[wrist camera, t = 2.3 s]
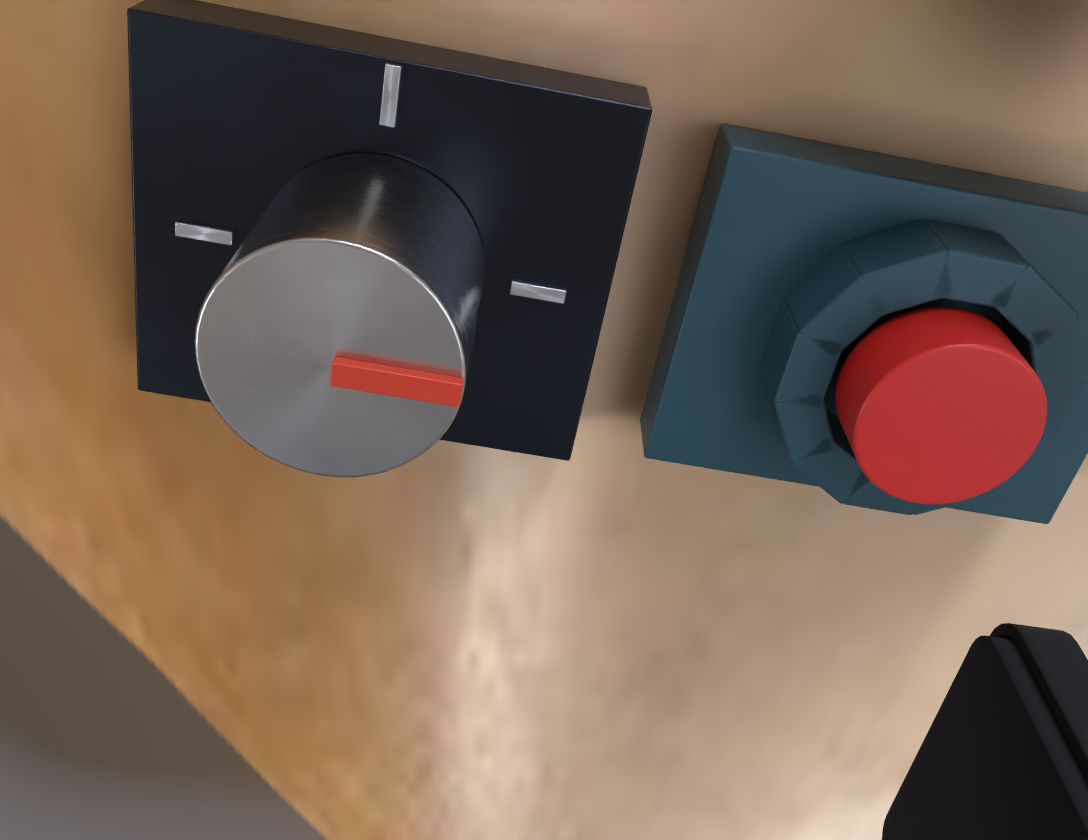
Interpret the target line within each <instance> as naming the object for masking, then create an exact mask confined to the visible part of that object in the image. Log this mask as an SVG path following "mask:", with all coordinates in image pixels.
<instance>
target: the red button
mask: <svg viewBox="0 0 1088 840" xmlns="http://www.w3.org/2000/svg"><path fill="white" fill-rule="evenodd" d="M835 403H836V409H837V414H838V417H839V420H840V422H841V425H842V427H843V429H844V432H845V434H846V436H847V439H848V441H849V443H850V446H851V448H852V451H853V453H854V455H855V458H856V460H857V462H858V464H859V466H860V468H861V470H862V471H863V473H864V474H865V475H866V477H867V478H868V479H869V480H870V481H871V482H872V483H873V484H874V485H875V486H877V487H878V488H880V489H881V490H883V491H884V492H886V493H888V494H890V495H892V496H894V497H896V498H899V499H902V500H905V501H909V502H914V503H921V504H945V503H953V502H958V501H962V500H966V499H969V498H972V497H975V496H978V495H980V494H982V493H985V492H987V491H989V490H991V489H993V488H994V487H996V486H998V485H999V484H1001V483H1002V482H1004V481H1005V480H1007V479H1008V478H1009V477H1011V476H1012V475H1013V474H1014V473H1015V472H1017V471H1018V470H1019V469H1020V468H1021V467H1022V466H1023V465H1024V463H1025V462H1026V461H1027V460H1028V459H1029V457H1030V456H1031V455H1032V453H1033V452H1034V450H1035V448H1036V447H1037V445H1038V443H1039V441H1040V439H1041V436H1042V434H1043V431H1044V427H1045V424H1046V416H1047V400H1046V395H1045V390H1044V388H1043V385H1042V383H1041V381H1040V379H1039V377H1038V376H1037V374H1036V373H1035V371H1034V370H1033V369H1032V367H1031V366H1030V365H1029V364H1028V362H1027V361H1026V360H1025V359H1024V357H1023V356H1022V355H1021V353H1020V352H1019V351H1018V350H1017V348H1016V347H1015V346H1014V345H1013V343H1012V342H1011V341H1010V340H1009V338H1008V337H1007V336H1006V335H1005V333H1004V332H1003V331H1002V330H1001V329H1000V328H999V327H998V326H997V325H996V324H994V323H993V322H992V321H991V320H989V319H987V318H986V317H984V316H982V315H980V314H978V313H975V312H973V311H970V310H966V309H962V308H955V307H927V308H920V309H916V310H912V311H909V312H906V313H903V314H900V315H898V316H895V317H893V318H891V319H889V320H887V321H885V322H884V323H882V324H881V325H879V326H877V327H876V328H875V329H873V330H872V331H871V332H869V333H868V334H867V335H866V336H865V337H864V338H863V339H862V340H861V341H860V342H859V343H858V344H857V345H856V346H855V348H854V349H853V350H852V351H851V353H850V354H849V356H848V357H847V359H846V361H845V362H844V365H843V367H842V369H841V371H840V374H839V377H838V381H837V385H836V392H835Z"/></svg>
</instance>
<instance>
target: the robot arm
mask: <svg viewBox="0 0 1088 840" xmlns="http://www.w3.org/2000/svg"><path fill="white" fill-rule="evenodd" d="M882 840H1088V660H1087V658H1086V656H1085V655H1084V653H1083V651H1082V650H1081V648H1080V646H1079V645H1078V643H1077V642H1076V641H1075V639H1074V638H1073V637H1072V636H1071V635H1070V634H1068V633H1066V632H1064V631H1060V630H1053V629H1046V628H1039V627H1032V626H1025V625H1017V624H1010V623H1006V624H1001V625H999V626H998V627H996V628H995V629H994V630H993V632H992V633H991V635H990V636H980V637H978V638H977V639H975V641H974V642H973V644H972V645H971V647H970V649H969V651H968V653H967V655H966V657H965V659H964V661H963V663H962V665H961V667H960V669H959V671H958V673H957V675H956V677H955V679H954V681H953V683H952V685H951V687H950V689H949V691H948V693H947V695H946V697H945V699H944V701H943V703H942V705H941V707H940V709H939V711H938V713H937V715H936V717H935V719H934V721H933V723H932V725H931V727H930V729H929V731H928V733H927V735H926V737H925V739H924V741H923V743H922V745H921V747H920V749H919V751H918V753H917V755H916V757H915V759H914V761H913V763H912V765H911V767H910V769H909V771H908V773H907V775H906V777H905V779H904V781H903V783H902V785H901V787H900V789H899V791H898V793H897V795H896V797H895V799H894V802H893V804H892V806H891V808H890V810H889V812H888V814H887V816H886V819H885V821H884V826H883V834H882Z"/></svg>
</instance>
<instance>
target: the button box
mask: <svg viewBox="0 0 1088 840" xmlns="http://www.w3.org/2000/svg"><path fill="white" fill-rule="evenodd" d="M927 307H955V308H962V309H966V310H970V311H973V312H975V313H978V314H980V315H982V316H984V317H986V318H987V319H989V320H991V321H992V322H993V323H994V324H996V325H997V326H998V327H999V328H1000V329H1001V330H1002V331H1003V332H1004V333H1005V335H1006V336H1007V337H1008V338H1009V340H1010V341H1011V342H1012V343H1013V345H1014V346H1015V347H1016V348H1017V350H1018V351H1019V352H1020V353H1021V355H1022V356H1023V357H1024V359H1025V360H1026V361H1027V362H1028V364H1029V365H1030V366H1031V367H1032V369H1033V370H1034V371H1035V373H1036V374H1037V376H1038V377H1039V379H1040V381H1041V383H1042V385H1043V388H1044V390H1045V395H1046V400H1047V416H1046V424H1045V427H1044V431H1043V434H1042V436H1041V439H1040V441H1039V443H1038V445H1037V447H1036V448H1035V450H1034V452H1033V453H1032V455H1031V456H1030V457H1029V459H1028V460H1027V461H1026V462H1025V463H1024V465H1023V466H1022V467H1021V468H1020V469H1019V470H1018V471H1017V472H1015V473H1014V474H1013V475H1012V476H1011V477H1009V478H1008V479H1007V480H1005V481H1004V482H1002V483H1001V484H999V485H998V486H996V487H994V488H993V489H991V490H989V491H987V492H985V493H982V494H980V495H978V496H975V497H972V498H969V499H966V500H962V501H958V502H953V503H945V504H921V503H914V502H909V501H905V500H902V499H899V498H896V497H894V496H892V495H890V494H888V493H886V492H884V491H883V490H881V489H880V488H878V487H877V486H875V485H874V484H873V483H872V482H871V481H870V480H869V479H868V478H867V477H866V475H865V474H864V473H863V471H862V470H861V468H860V466H859V464H858V462H857V460H856V458H855V455H854V453H853V451H852V448H851V446H850V443H849V441H848V439H847V436H846V434H845V432H844V429H843V427H842V425H841V422H840V420H839V417H838V414H837V409H836V403H835V392H836V385H837V381H838V377H839V374H840V371H841V369H842V367H843V365H844V362H845V361H846V359H847V357H848V356H849V354H850V353H851V351H852V350H853V349H854V348H855V346H856V345H857V344H858V343H859V342H860V341H861V340H862V339H863V338H864V337H865V336H866V335H867V334H868V333H869V332H871V331H872V330H873V329H875V328H876V327H877V326H879V325H881V324H882V323H884V322H885V321H887V320H889V319H891V318H893V317H895V316H898V315H900V314H903V313H906V312H909V311H912V310H916V309H920V308H927ZM640 423H641V432H642V441H643V450H644V457H646V458H650V459H656V460H662V461H668V462H674V463H680V464H686V465H692V466H698V467H704V468H710V469H716V470H723V471H729V472H735V473H741V474H747V475H753V476H759V477H765V478H771V479H777V480H783V481H789V482H795V483H801V484H807V485H813V486H819V487H821V488H822V489H823V490H825V491H826V492H827V493H828V494H830V495H831V496H832V497H833V498H835V499H836V500H837V501H838V502H840V503H841V504H842V503H844V504H846V505H852V506H858V507H864V508H870V509H876V510H882V511H888V512H895V513H901V514H907V515H912V514H914V515H917V514H921V513H925V512H929V511H933V510H937V509H940V508H944V507H947V508H953V509H959V510H965V511H971V512H977V513H983V514H989V515H995V516H1001V517H1007V518H1013V519H1019V520H1025V521H1031V522H1037V523H1043V524H1048V523H1049V522H1050V520H1051V519H1052V517H1053V515H1054V513H1055V511H1056V510H1057V508H1058V506H1059V504H1060V502H1061V500H1062V499H1063V497H1064V495H1065V493H1066V491H1067V490H1068V488H1069V486H1070V484H1071V482H1072V480H1073V479H1074V477H1075V475H1076V473H1077V471H1078V470H1079V468H1080V466H1081V464H1082V462H1083V460H1084V459H1085V457H1086V455H1087V453H1088V193H1084V192H1079V191H1073V190H1068V189H1063V188H1058V187H1053V186H1047V185H1042V184H1037V183H1032V182H1026V181H1021V180H1016V179H1011V178H1005V177H1000V176H995V175H990V174H985V173H979V172H974V171H969V170H964V169H958V168H953V167H948V166H943V165H938V164H932V163H927V162H922V161H917V160H911V159H906V158H901V157H896V156H890V155H885V154H880V153H875V152H870V151H864V150H859V149H854V148H849V147H843V146H838V145H833V144H828V143H822V142H817V141H812V140H807V139H802V138H796V137H791V136H786V135H781V134H775V133H770V132H765V131H760V130H755V129H749V128H744V127H739V126H734V125H728V124H722V125H721V126H720V129H719V132H718V136H717V140H716V143H715V147H714V151H713V154H712V158H711V162H710V165H709V169H708V173H707V176H706V180H705V184H704V187H703V191H702V195H701V199H700V202H699V206H698V210H697V213H696V217H695V221H694V224H693V228H692V232H691V235H690V239H689V243H688V246H687V250H686V254H685V257H684V261H683V265H682V268H681V272H680V276H679V279H678V283H677V287H676V290H675V294H674V298H673V302H672V305H671V309H670V313H669V316H668V320H667V324H666V327H665V331H664V335H663V338H662V342H661V346H660V349H659V353H658V357H657V360H656V364H655V368H654V371H653V375H652V379H651V382H650V386H649V390H648V393H647V397H646V401H645V405H644V408H643V412H642V416H641V419H640Z"/></svg>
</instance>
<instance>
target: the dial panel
mask: <svg viewBox="0 0 1088 840" xmlns="http://www.w3.org/2000/svg"><path fill="white" fill-rule="evenodd" d="M127 16H128V52H129V88H130V124H131V160H132V196H133V232H134V268H135V304H136V340H137V376H138V390H141V391H147V392H153V393H159V394H165V395H171V396H177V397H183V398H189V399H196V400H202V401H208V402H211V401H210V399H209V397H208V395H207V393H206V391H205V389H204V386H203V383H202V381H201V378H200V375H199V371H198V366H197V362H196V356H195V330H196V323H197V319H198V315H199V311H200V309H201V306H202V304H203V302H204V299H205V297H206V295H207V294H208V292H209V290H210V289H211V287H212V286H213V284H214V282H215V281H216V280H217V278H218V277H219V275H220V274H221V273H222V271H223V270H224V268H225V267H226V266H227V264H228V263H229V261H230V260H231V259H232V257H233V256H234V254H235V253H236V252H237V250H238V249H239V247H240V246H241V245H242V243H243V242H244V240H245V239H246V238H247V236H248V235H249V233H250V232H251V231H252V229H253V228H254V226H255V225H256V224H257V222H258V221H259V219H260V218H261V217H262V215H263V214H264V213H265V211H266V210H267V208H268V207H269V206H270V204H271V203H272V201H273V200H274V199H275V197H276V196H277V194H278V193H279V192H280V191H281V189H282V188H283V187H284V186H285V185H286V184H287V183H288V182H289V181H290V180H291V179H292V178H293V177H294V176H296V175H297V174H298V173H300V172H301V171H303V170H304V169H306V168H307V167H309V166H311V165H313V164H315V163H318V162H320V161H322V160H325V159H328V158H332V157H335V156H339V155H346V154H356V153H370V154H378V155H385V156H389V157H393V158H397V159H401V160H403V161H406V162H408V163H411V164H413V165H416V166H417V167H419V168H421V169H423V170H425V171H427V172H428V173H430V174H431V175H433V176H434V177H436V178H437V179H438V180H440V181H441V182H442V183H443V184H444V185H446V186H447V187H448V188H449V189H450V190H451V191H452V192H453V193H454V194H455V195H456V197H457V198H458V199H459V200H460V201H461V202H462V204H463V205H464V207H465V208H466V210H467V211H468V213H469V214H470V216H471V218H472V220H473V222H474V224H475V226H476V228H477V231H478V234H479V237H480V240H481V243H482V248H483V253H484V266H485V271H484V282H483V288H482V294H481V300H480V306H479V311H478V317H477V323H476V329H475V334H474V340H473V346H472V352H471V357H470V363H469V369H468V375H467V380H466V386H465V391H464V395H463V399H462V403H461V405H460V407H459V410H458V412H457V415H456V417H455V418H454V420H453V422H452V423H451V425H450V427H449V428H448V430H447V431H446V432H445V433H444V434H443V436H442V437H441V438H440V439H439V440H446V441H452V442H458V443H464V444H470V445H476V446H482V447H488V448H494V449H500V450H507V451H513V452H519V453H525V454H531V455H537V456H543V457H549V458H555V459H561V460H570V458H571V453H572V449H573V445H574V441H575V436H576V432H577V428H578V424H579V419H580V415H581V411H582V407H583V402H584V398H585V394H586V390H587V385H588V381H589V377H590V373H591V368H592V364H593V360H594V356H595V351H596V347H597V343H598V339H599V334H600V330H601V326H602V322H603V317H604V313H605V309H606V305H607V300H608V296H609V292H610V288H611V283H612V279H613V275H614V271H615V266H616V262H617V258H618V254H619V249H620V245H621V241H622V237H623V232H624V228H625V224H626V220H627V215H628V211H629V207H630V203H631V198H632V194H633V190H634V186H635V181H636V177H637V173H638V169H639V164H640V160H641V156H642V152H643V147H644V143H645V139H646V135H647V131H648V126H649V122H650V118H651V114H652V107H651V103H650V99H649V95H648V92H647V88H645V87H641V86H636V85H631V84H625V83H620V82H615V81H610V80H605V79H599V78H594V77H589V76H584V75H579V74H573V73H568V72H563V71H558V70H553V69H548V68H542V67H537V66H532V65H527V64H522V63H516V62H511V61H506V60H501V59H496V58H491V57H485V56H480V55H475V54H470V53H465V52H459V51H454V50H449V49H444V48H439V47H433V46H428V45H423V44H418V43H413V42H408V41H402V40H397V39H392V38H387V37H382V36H376V35H371V34H366V33H361V32H356V31H351V30H345V29H340V28H335V27H330V26H325V25H319V24H314V23H309V22H304V21H299V20H293V19H288V18H283V17H278V16H273V15H268V14H262V13H257V12H252V11H247V10H242V9H236V8H231V7H226V6H221V5H216V4H211V3H205V2H200V1H195V0H144V1H142V2H140V3H138V4H136V5H134V6H132V7H130V8H128V10H127Z"/></svg>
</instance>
